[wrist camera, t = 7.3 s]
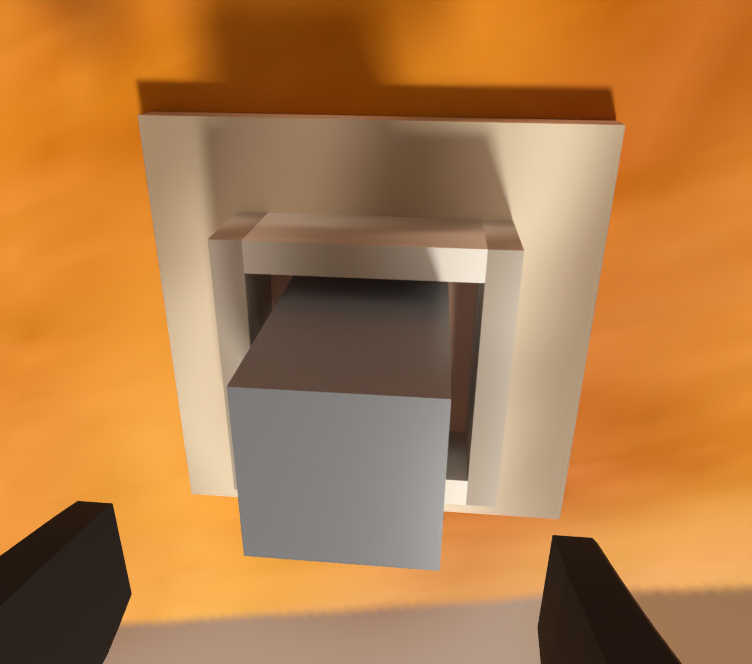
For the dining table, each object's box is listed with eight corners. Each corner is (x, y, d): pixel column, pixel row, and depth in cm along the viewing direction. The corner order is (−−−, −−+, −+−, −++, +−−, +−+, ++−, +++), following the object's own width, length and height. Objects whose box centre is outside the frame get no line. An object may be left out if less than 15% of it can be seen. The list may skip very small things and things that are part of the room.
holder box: (617, 120, 16) (656, 141, 13) (555, 502, 21) (574, 579, 18) (150, 111, 17) (88, 128, 14) (200, 478, 22) (162, 548, 19)
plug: (448, 271, 17) (451, 399, 11) (440, 401, 19) (439, 571, 13) (299, 266, 17) (226, 386, 12) (304, 394, 19) (244, 555, 13)
